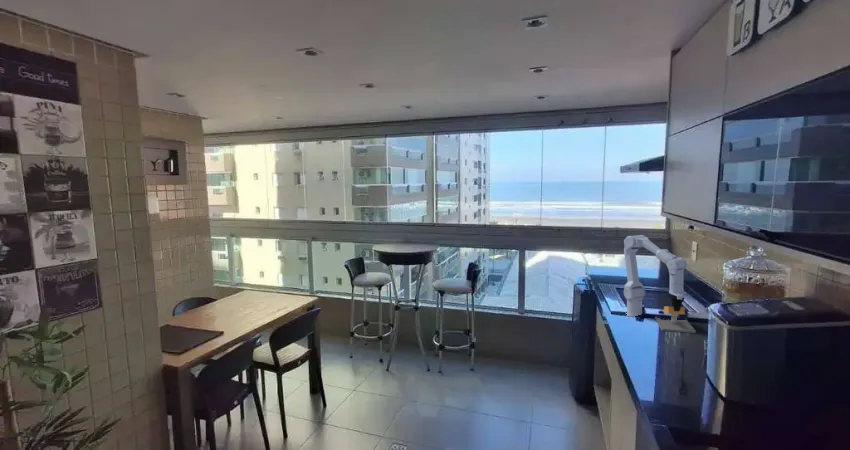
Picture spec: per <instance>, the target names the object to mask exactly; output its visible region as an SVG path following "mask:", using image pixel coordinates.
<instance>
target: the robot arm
mask: <svg viewBox="0 0 850 450" xmlns="http://www.w3.org/2000/svg"><path fill="white" fill-rule="evenodd" d="M623 244H624V248H623V254H624V262H625V270H626V276H627V277H626V278H627V281H626V283H625V284H623V285H624V287H623V295H624V298H625V299H626V310H625V311H626V312H627V313H626V312H625V315H626V314H627V315H626V316H627V317H630V318H636V317H635V316H638V315H641V314H643V309H642V308H643V299H644V298H645V296H646V290H645V288H644V284H643V283H641V282H640V277H639V270H638V263H637V256H636V255H637V252H638V251H639V249H642V248H644V249H646V250H647V251H648V252H649V251H650V252H651V253H653V254H654V255H655V257H656V258H657V259H658V260H659V261H660V262H662V263H664V264H665V265H666V267H667V269H668V273H669V291H668V293H669V294H668V297H669V298H670V302H671V306H673V307H674V311H680V308H681V307H682V304H683V302H684V301H685V297H684V295H687V291H684V282H685V281H684V270H685V269H686V268H687V265H688V264H687V261H686V259H684V257H678V256H677V255H676V254H673V253H671V252H669V250H668V249H665V248H663V249H661V248H660V247H658V246H657V245H656V244H655V243H653V242H652V241H651V240H650V239H649V237H648V236H645V235H644V234H638V235H627V236H626V237H625V239H624V240H623Z"/></svg>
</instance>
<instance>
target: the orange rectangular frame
mask: <svg viewBox="0 0 850 450" xmlns="http://www.w3.org/2000/svg"><path fill="white" fill-rule="evenodd" d="M685 310H686V309H685V306H681V308H680V311H674V307H673V306H672V305H671V306H666V305H665V306H663V312H664V314H668V315H669V314H670V315H671V314H676V315H686V311H685Z"/></svg>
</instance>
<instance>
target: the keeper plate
mask: <svg viewBox="0 0 850 450" xmlns="http://www.w3.org/2000/svg"><path fill="white" fill-rule="evenodd" d="M657 317H658V316H655V318H656V320H655V322H656V321H657V322H656V323H657V325H658V327H659V328H660V330H661V331H662V332H670V333H671V332H673V333H685V334H687V333H688V334H696V333H697V331H696V329H695V328H694V327H693V326H692V325H691V323H690V322H689V321H688V320H687V319H686V320H677V318H678V314H670V317H671V320H669V319H668V320H661V319H660V318H657ZM655 318H654V319H655Z"/></svg>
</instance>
